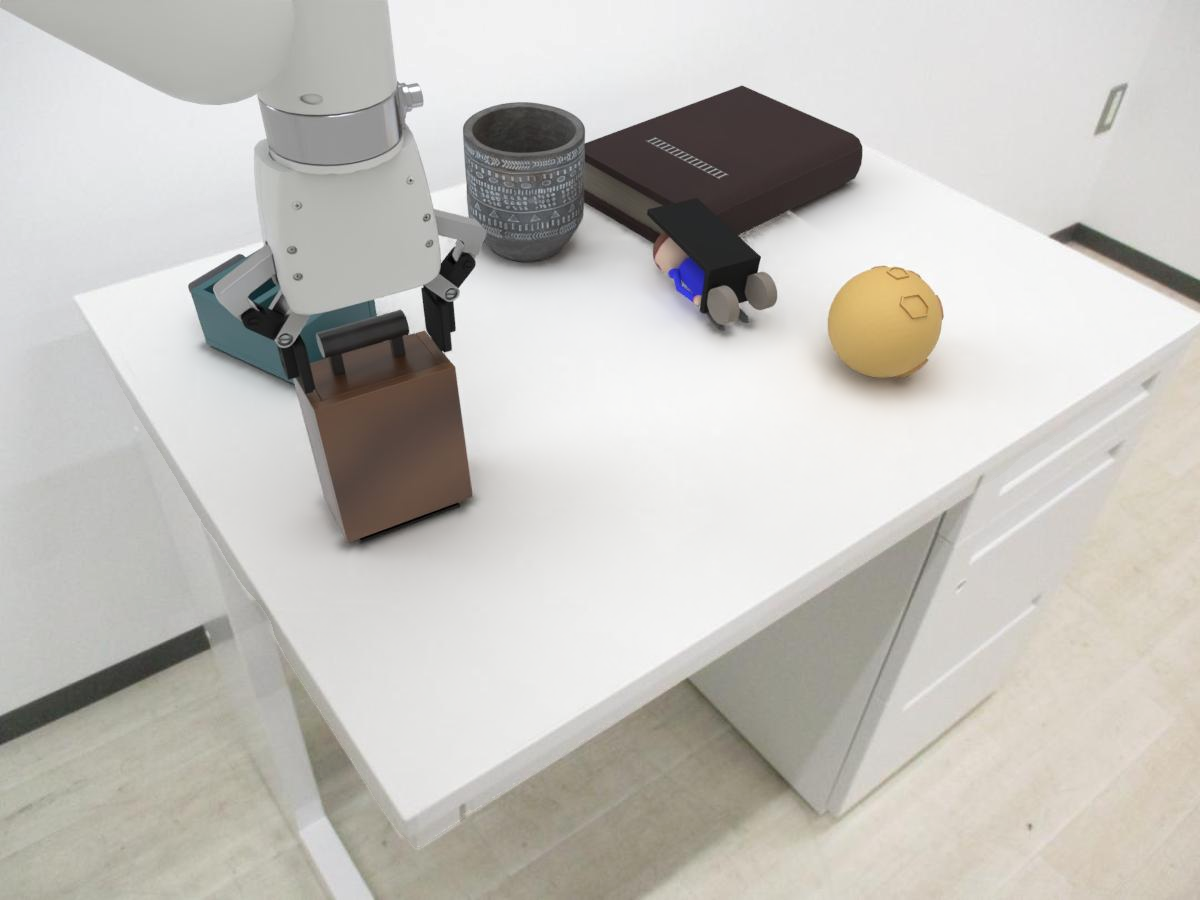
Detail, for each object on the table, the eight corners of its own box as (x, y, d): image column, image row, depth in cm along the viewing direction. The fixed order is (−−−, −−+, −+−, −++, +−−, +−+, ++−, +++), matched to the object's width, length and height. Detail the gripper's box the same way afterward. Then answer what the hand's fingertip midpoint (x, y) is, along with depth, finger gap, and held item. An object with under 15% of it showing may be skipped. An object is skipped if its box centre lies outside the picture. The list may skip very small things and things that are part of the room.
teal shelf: (181, 332, 88) (164, 279, 84) (260, 282, 94) (247, 231, 90) (304, 389, 83) (292, 335, 79) (379, 332, 89) (371, 279, 85)
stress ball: (875, 413, 83) (904, 320, 76) (796, 356, 89) (816, 265, 82) (948, 374, 88) (981, 283, 81) (868, 322, 93) (893, 232, 87)
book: (693, 266, 100) (699, 216, 96) (573, 195, 110) (573, 147, 106) (855, 186, 114) (867, 140, 110) (736, 130, 124) (742, 85, 120)
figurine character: (771, 337, 93) (687, 249, 101) (789, 277, 88) (699, 188, 95) (715, 357, 91) (634, 265, 99) (730, 297, 85) (643, 204, 93)
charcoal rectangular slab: (460, 506, 74) (459, 504, 73) (360, 543, 71) (360, 540, 70) (430, 459, 77) (430, 456, 77) (335, 492, 74) (334, 489, 74)
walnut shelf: (450, 326, 64) (418, 291, 68) (303, 368, 60) (279, 328, 64) (473, 497, 73) (444, 457, 77) (347, 543, 69) (324, 498, 73)
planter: (528, 285, 96) (525, 168, 87) (446, 242, 102) (436, 127, 93) (606, 240, 103) (610, 127, 94) (525, 201, 109) (522, 91, 100)
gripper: (450, 70, 59) (467, 300, 71) (158, 122, 52) (231, 366, 64) (501, 117, 54) (511, 355, 66) (189, 181, 48) (261, 433, 59)
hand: (373, 360), depth 65 cm, fingers open, 9 cm apart
